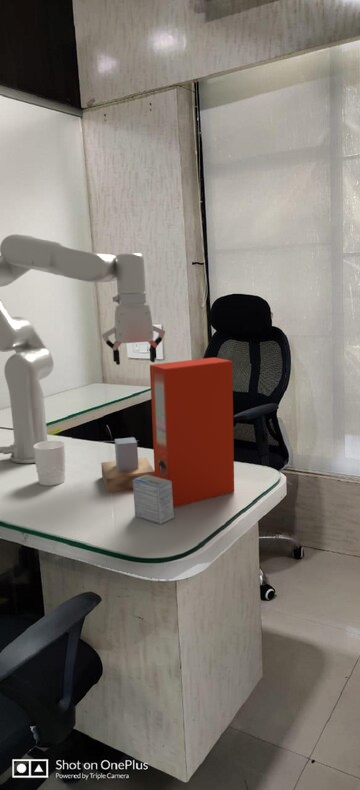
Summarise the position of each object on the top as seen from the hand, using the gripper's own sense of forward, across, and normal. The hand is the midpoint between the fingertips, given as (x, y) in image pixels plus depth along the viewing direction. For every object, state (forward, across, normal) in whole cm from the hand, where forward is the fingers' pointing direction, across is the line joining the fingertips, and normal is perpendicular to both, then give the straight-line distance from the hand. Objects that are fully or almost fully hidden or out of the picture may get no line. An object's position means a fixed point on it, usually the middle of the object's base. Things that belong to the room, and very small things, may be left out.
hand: (135, 362), depth 168 cm
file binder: (+28, +8, -31) cm, 43 cm away
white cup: (+28, -25, -9) cm, 39 cm away
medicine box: (+29, -4, -41) cm, 50 cm away
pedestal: (+28, -6, -16) cm, 33 cm away
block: (+24, -6, -16) cm, 30 cm away
